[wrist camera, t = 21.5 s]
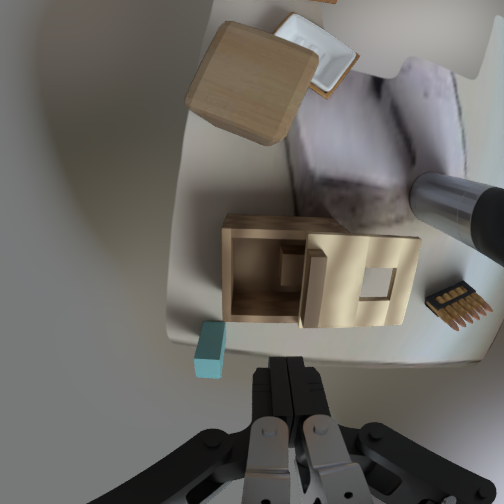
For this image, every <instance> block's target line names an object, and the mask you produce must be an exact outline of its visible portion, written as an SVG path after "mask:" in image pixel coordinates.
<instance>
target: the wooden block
mask: <svg viewBox="0 0 504 504" xmlns="http://www.w3.org/2000/svg"><path fill="white" fill-rule="evenodd" d="M318 65H319V55H317V54H316V53H315V52H314V51H312V50H310V49H307V48H305V47H303V46H300V45H298V44H296V43H293V42H291V41H288V40H286V39H283V38H281V37H278V36H275V35H273V34H270V33H267V32H264V31H261V30H259V29H256V28H253V27H249V26H246V25H243V24H240V23H237V22H233V21H225V22H224V23H223V24H222V25H221V26H220V27H219V29H218V31H217V33H216V35H215V37H214V38H213V40H212V42H211V44H210V46H209V48H208V50H207V52H206V54H205V56H204V58H203V60H202V62H201V64H200V66H199V68H198V70H197V72H196V74H195V76H194V78H193V81H192V83H191V85H190V87H189V89H188V92H187V94H186V96H185V106H186V107H187V108H189V109H190V110H191V111H192V112H194V113H196V114H197V115H199V116H200V117H202V118H203V119H205V120H206V121H208V122H209V123H211V124H212V125H214V126H215V127H218V128H221V129H224V130H226V131H229V132H231V133H234V134H237V135H239V136H242V137H244V138H247V139H249V140H252V141H254V142H256V143H259V144H261V145H264V146H271V145H273V144H275V143H278V142H280V141H281V140H282V139H284V138H285V137H286V136H287V133H288V131H289V129H290V127H291V124H292V122H293V120H294V118H295V116H296V113H297V111H298V109H299V107H300V104H301V102H302V100H303V98H304V96H305V93H306V91H307V89H308V87H309V85H310V82H311V80H312V78H313V76H314V74H315V72H316V69H317V67H318Z"/></svg>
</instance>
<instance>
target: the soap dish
mask: <svg viewBox="0 0 504 504" xmlns="http://www.w3.org/2000/svg"><path fill="white" fill-rule="evenodd" d="M273 35H275V36H278V37H281V38H283V39H286V40H288V41H291V42H293V43H296V44H298V45H300V46H303V47H305V48H307V49H310V50H312V51H314V52H315V53H316V54H317V55H319V65H318V67H317V69H316V72H315V74H314V76H313V78H312V80H311V82H310V85H309V87H310V88H311V89H313V90H314V91H315V92H317V93H318V94H320V95H321V96H323V97H324V98H325V99H328V98H329V97H330V96H331V94H332V93H333V92H334V91H335V89H336V88H337V87H338V85H339V84H340V83H341V81H342V80H343V79H344V77H345V76H346V75H347V73H348V72H349V70H350V69H351V67H352V66H353V65H354V64H355V63H356V61H357V60H358V58H359V57H360V56H359V55H358V54H357V53H356V52H355V51H353V50H352V49H351V48H350V47H348V46H347V45H346V44H344V43H343V42H341V41H340V40H339V39H337V38H336V37H334V36H333V35H331V34H330V33H328V32H327V31H325V30H324V29H322V28H320V27H319V26H317V25H316V24H314V23H312V22H311V21H309V20H307V19H306V18H304V17H302V16H300V15H298V14H296V13H294V12H291V13H290V14H289V15H288V16H287V17H286V18H285V20H284V21H283V22H282V23H281V24H280V25H279V26H278V27H277V29H276V30H275V31H274V32H273Z"/></svg>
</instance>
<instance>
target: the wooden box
mask: <svg viewBox="0 0 504 504" xmlns="http://www.w3.org/2000/svg"><path fill="white" fill-rule="evenodd" d="M307 231H309V232H333V233H349V232H348V231H347V230H346V229H345V228H344V227H343V226H342V225H340V224H339V223H338V222H337V221H336V220H335V219H334V218H322V217H301V216H276V215H243V214H227V217H226V219H225V222H224V224H223V226H222V311H223V322H252V323H298V316H299V307H300V298H301V289H302V279H303V269H304V259H305V248H306V236H307Z"/></svg>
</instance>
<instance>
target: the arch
mask: <svg viewBox="0 0 504 504" xmlns="http://www.w3.org/2000/svg"><path fill="white" fill-rule="evenodd" d="M313 1H319V2H325V3H331V4H336V2H337V0H313Z"/></svg>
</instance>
